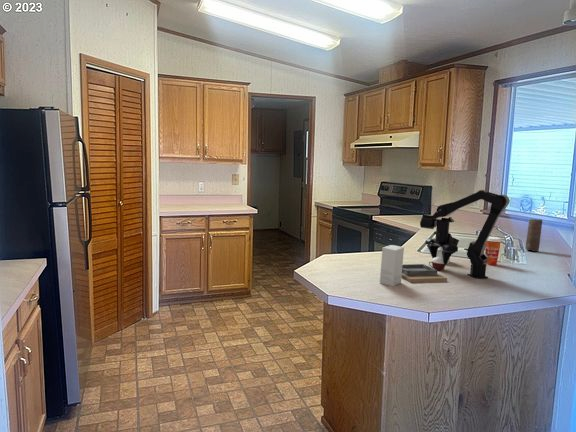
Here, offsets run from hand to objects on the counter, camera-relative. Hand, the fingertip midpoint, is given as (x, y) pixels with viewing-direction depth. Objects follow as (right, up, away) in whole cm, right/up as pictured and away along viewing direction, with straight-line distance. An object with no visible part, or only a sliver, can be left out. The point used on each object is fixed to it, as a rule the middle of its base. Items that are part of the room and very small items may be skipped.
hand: (439, 262), depth 211 cm
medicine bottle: (+7, -2, +18) cm, 19 cm away
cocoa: (0, -4, +1) cm, 4 cm away
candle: (+77, 0, +58) cm, 96 cm away
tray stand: (-15, -5, -13) cm, 20 cm away
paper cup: (+33, -3, +17) cm, 37 cm away
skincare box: (-30, -6, -28) cm, 41 cm away
